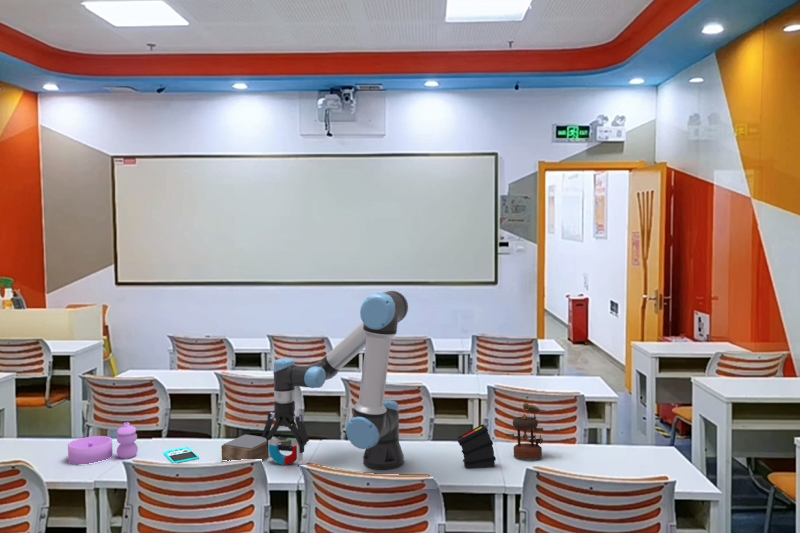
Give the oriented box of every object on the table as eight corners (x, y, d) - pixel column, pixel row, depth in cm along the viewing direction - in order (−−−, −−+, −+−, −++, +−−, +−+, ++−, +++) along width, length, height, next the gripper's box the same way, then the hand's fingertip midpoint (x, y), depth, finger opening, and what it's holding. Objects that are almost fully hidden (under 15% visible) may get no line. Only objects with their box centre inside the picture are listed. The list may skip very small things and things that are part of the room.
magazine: (504, 462, 227) (486, 426, 226) (471, 479, 226) (453, 443, 225) (501, 459, 231) (483, 423, 230) (469, 475, 230) (451, 440, 229)
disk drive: (262, 451, 251) (297, 452, 247) (262, 444, 250) (297, 445, 247) (273, 443, 261) (307, 444, 258) (272, 436, 261) (306, 437, 258)
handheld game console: (188, 449, 254) (188, 445, 254) (200, 460, 240) (200, 456, 240) (162, 454, 248) (162, 450, 248) (173, 465, 235) (173, 462, 235)
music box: (541, 451, 244) (541, 400, 243) (549, 461, 233) (549, 407, 232) (502, 452, 243) (502, 401, 242) (508, 462, 232) (508, 408, 231)
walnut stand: (274, 454, 244) (274, 438, 244) (252, 466, 231) (251, 448, 231) (245, 450, 250) (245, 433, 250) (221, 461, 237) (221, 444, 237)
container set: (61, 466, 235) (60, 431, 234) (78, 452, 250) (77, 419, 249) (131, 463, 237) (130, 428, 237) (143, 450, 252) (142, 417, 252)
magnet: (269, 464, 233) (268, 438, 233) (271, 462, 236) (270, 435, 235) (300, 465, 232) (299, 438, 231) (302, 463, 234) (301, 436, 234)
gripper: (251, 400, 234) (252, 457, 235) (306, 406, 224) (307, 466, 225) (263, 395, 241) (264, 451, 242) (317, 401, 231) (318, 459, 232)
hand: (285, 458), depth 234 cm, fingers closed on magnet, 12 cm apart
